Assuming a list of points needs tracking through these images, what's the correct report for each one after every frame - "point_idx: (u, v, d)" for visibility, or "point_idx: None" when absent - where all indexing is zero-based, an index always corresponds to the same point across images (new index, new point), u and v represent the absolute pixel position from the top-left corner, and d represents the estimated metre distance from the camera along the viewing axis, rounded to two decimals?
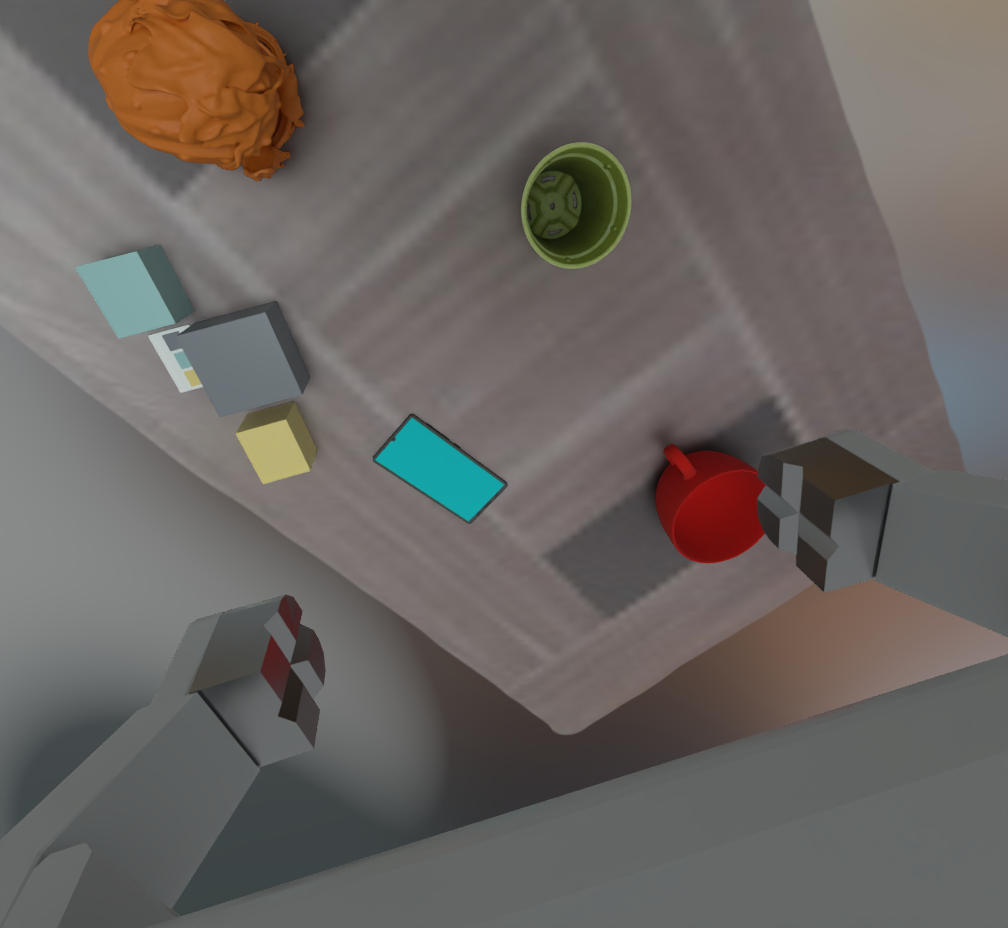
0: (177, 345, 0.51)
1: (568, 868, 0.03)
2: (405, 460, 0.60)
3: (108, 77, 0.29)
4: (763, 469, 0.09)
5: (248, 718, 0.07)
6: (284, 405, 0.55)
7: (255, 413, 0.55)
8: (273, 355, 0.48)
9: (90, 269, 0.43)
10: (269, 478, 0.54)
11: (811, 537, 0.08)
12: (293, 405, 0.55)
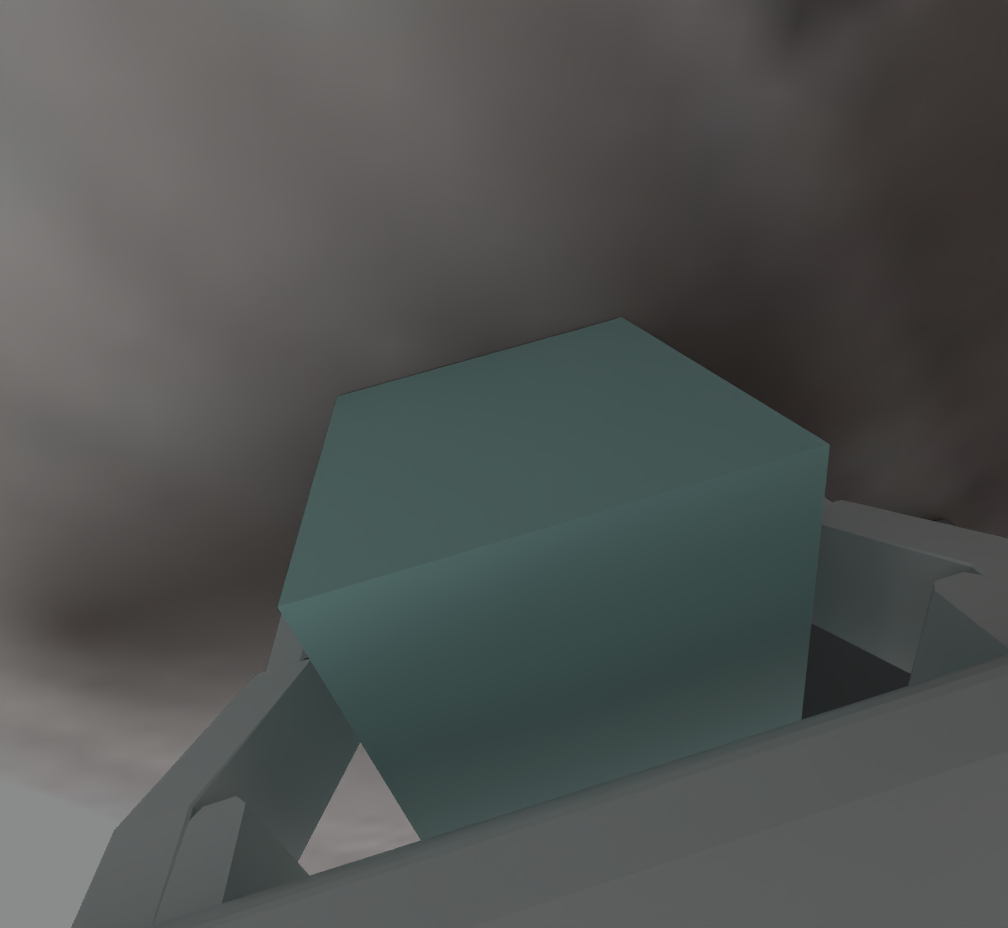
0: None
1: (568, 868, 0.03)
2: None
3: None
4: None
5: None
6: None
7: None
8: None
9: (407, 607, 0.05)
10: None
11: None
12: None
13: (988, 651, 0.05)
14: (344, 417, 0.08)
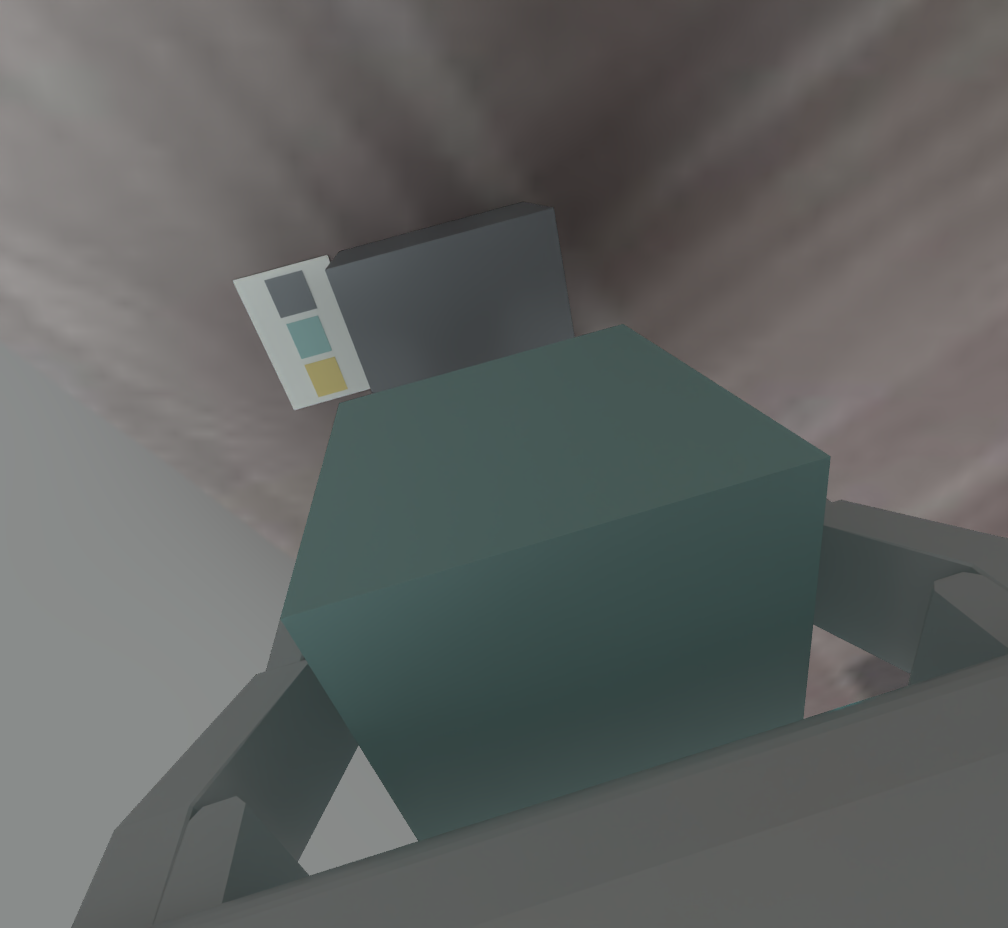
0: (296, 304, 0.23)
1: (568, 868, 0.03)
2: None
3: None
4: None
5: None
6: None
7: None
8: (547, 322, 0.20)
9: (409, 620, 0.05)
10: None
11: None
12: None
13: (988, 651, 0.05)
14: (346, 425, 0.08)
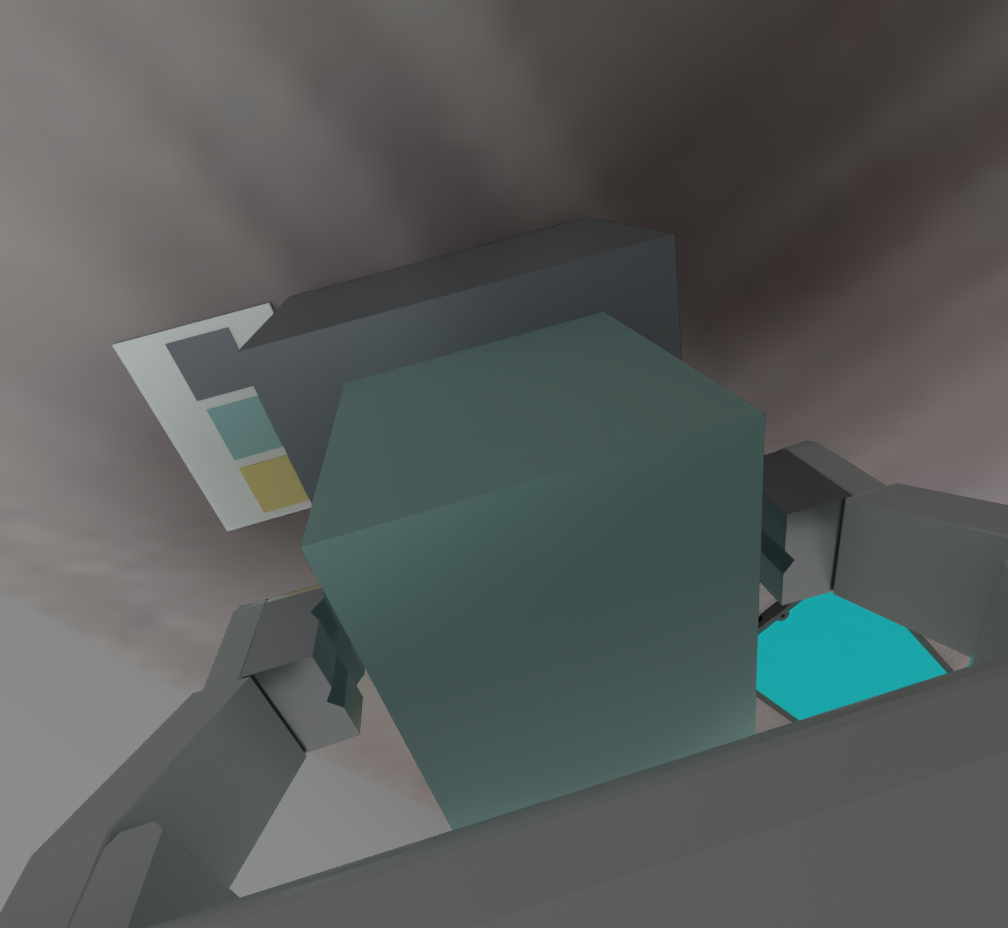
0: (221, 378, 0.14)
1: (567, 868, 0.03)
2: (788, 659, 0.24)
3: None
4: None
5: (297, 703, 0.07)
6: None
7: None
8: None
9: (408, 550, 0.06)
10: None
11: (769, 549, 0.08)
12: None
13: None
14: (351, 400, 0.09)
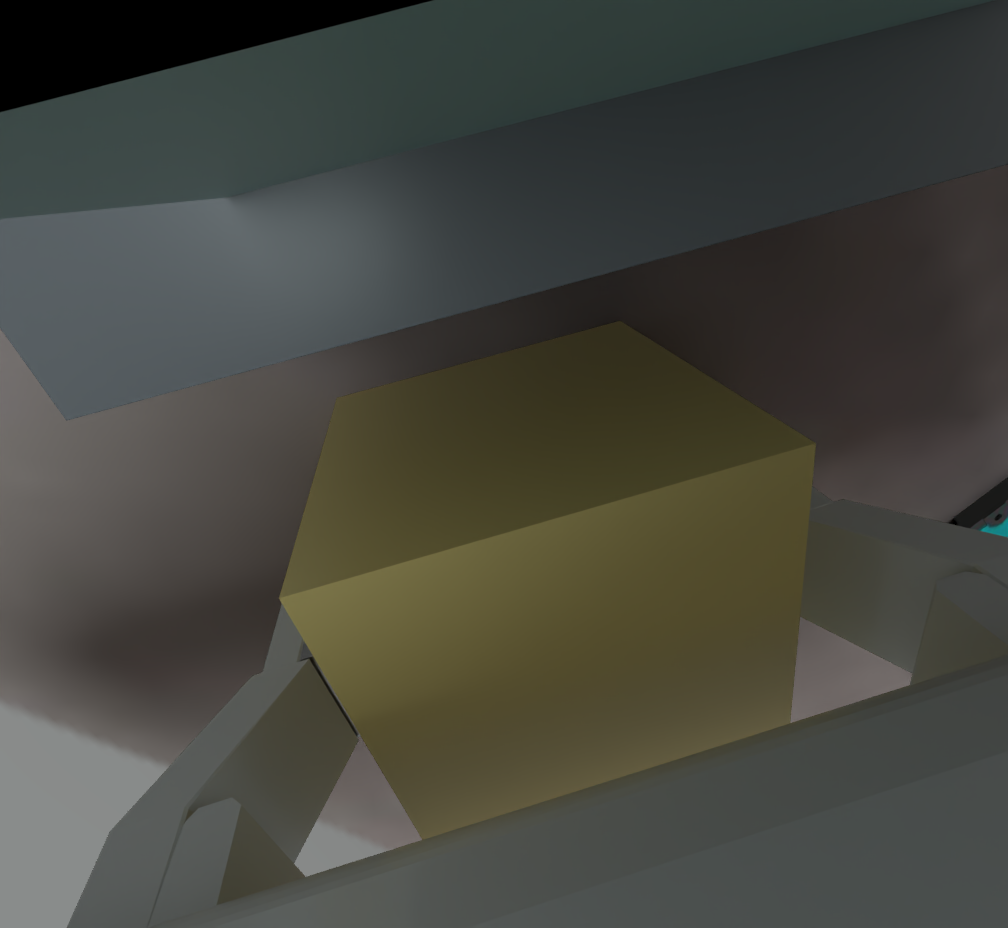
0: None
1: (568, 868, 0.03)
2: None
3: None
4: None
5: None
6: (573, 343, 0.09)
7: (389, 393, 0.08)
8: None
9: None
10: None
11: None
12: (645, 342, 0.08)
13: (990, 650, 0.05)
14: None
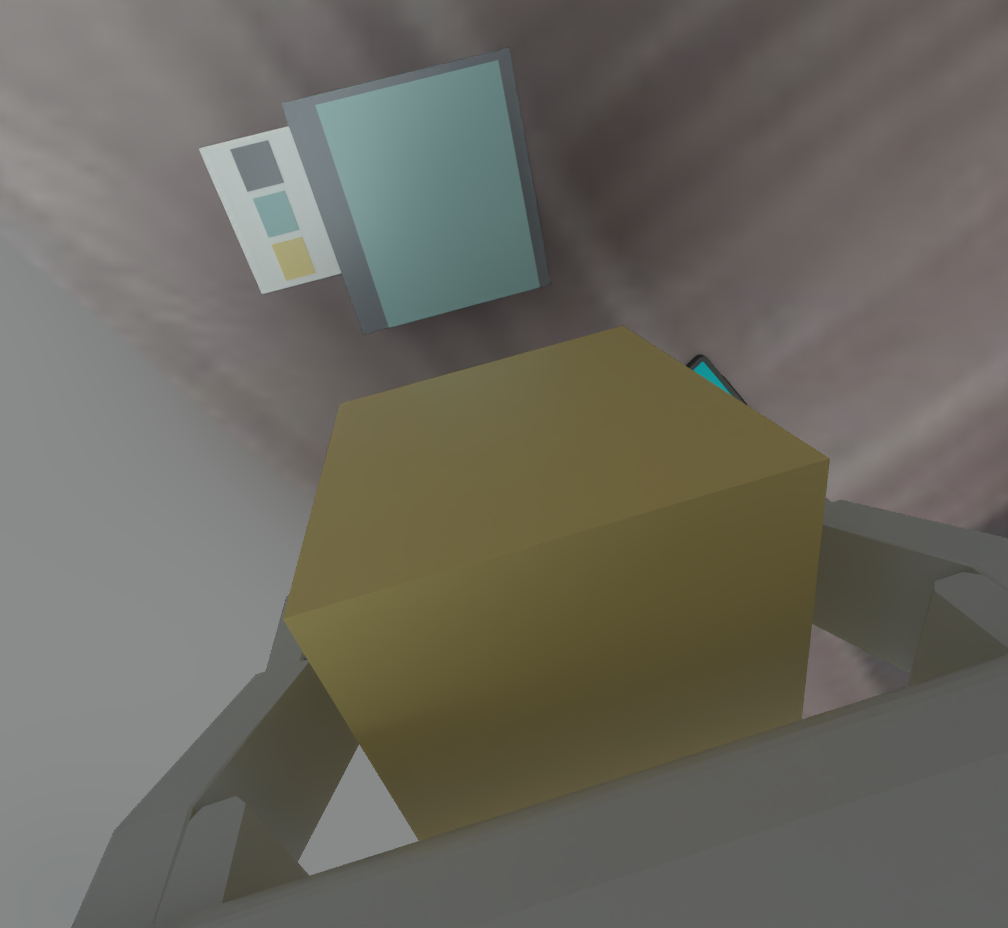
0: (262, 177, 0.23)
1: (568, 868, 0.03)
2: None
3: None
4: None
5: None
6: (578, 350, 0.08)
7: (392, 401, 0.08)
8: None
9: (357, 114, 0.14)
10: None
11: None
12: (651, 350, 0.08)
13: (988, 651, 0.05)
14: None
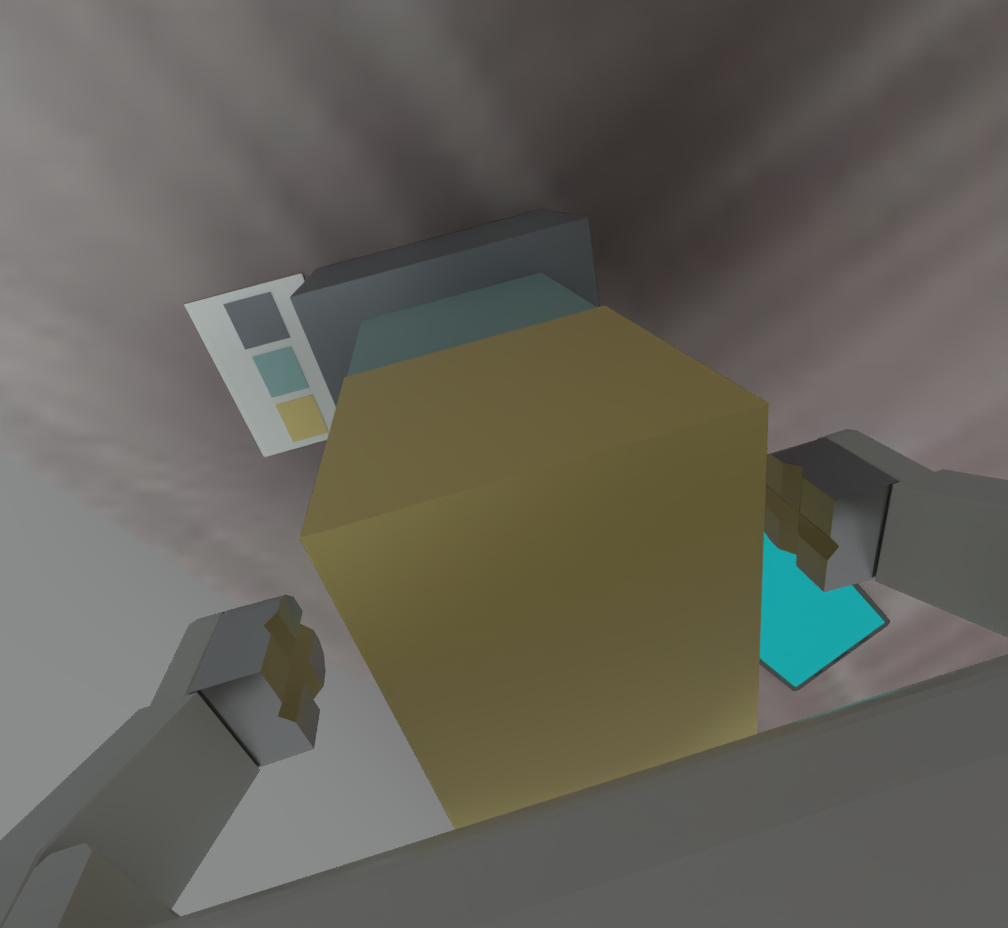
0: (264, 332, 0.18)
1: (568, 868, 0.03)
2: None
3: None
4: None
5: (248, 718, 0.07)
6: (563, 326, 0.09)
7: (392, 373, 0.09)
8: None
9: None
10: (504, 803, 0.08)
11: (811, 537, 0.08)
12: (629, 325, 0.09)
13: None
14: (367, 328, 0.13)
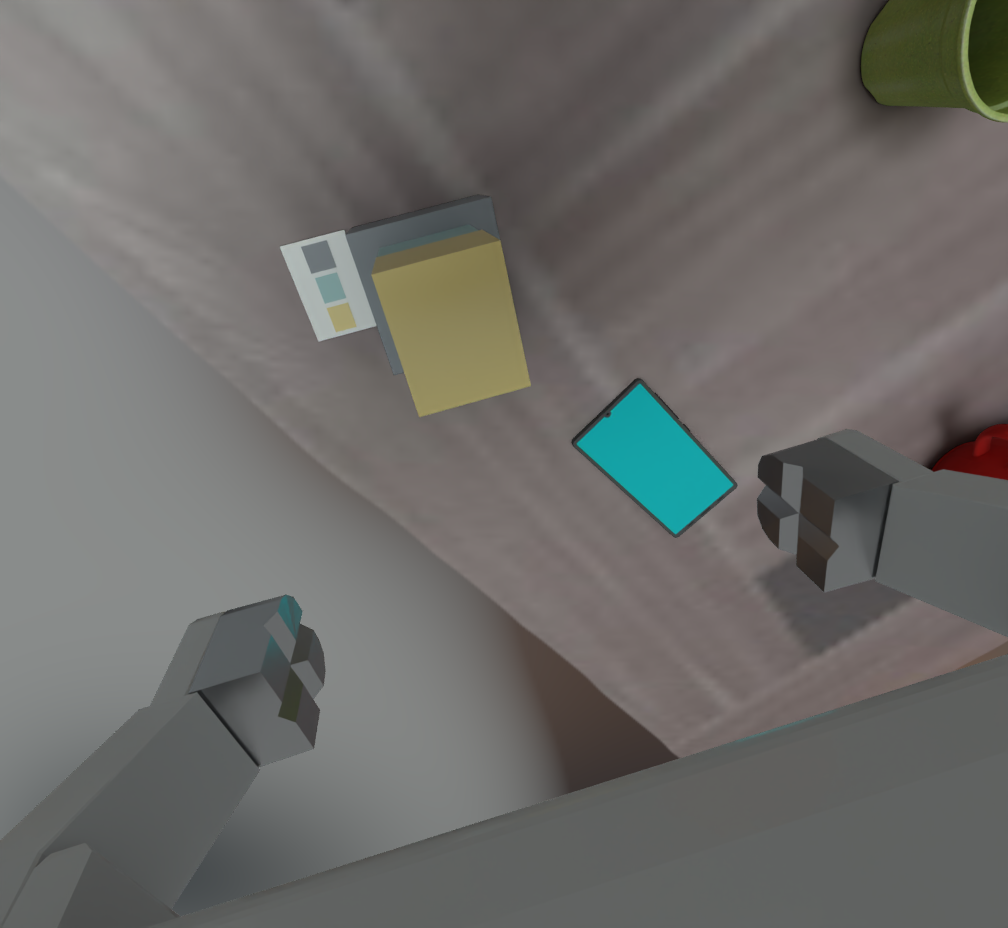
0: (322, 264, 0.33)
1: (568, 868, 0.03)
2: (616, 446, 0.42)
3: None
4: (763, 469, 0.09)
5: (248, 718, 0.07)
6: (462, 236, 0.24)
7: (395, 253, 0.23)
8: None
9: None
10: (436, 403, 0.22)
11: (811, 537, 0.08)
12: None
13: None
14: (383, 249, 0.27)
